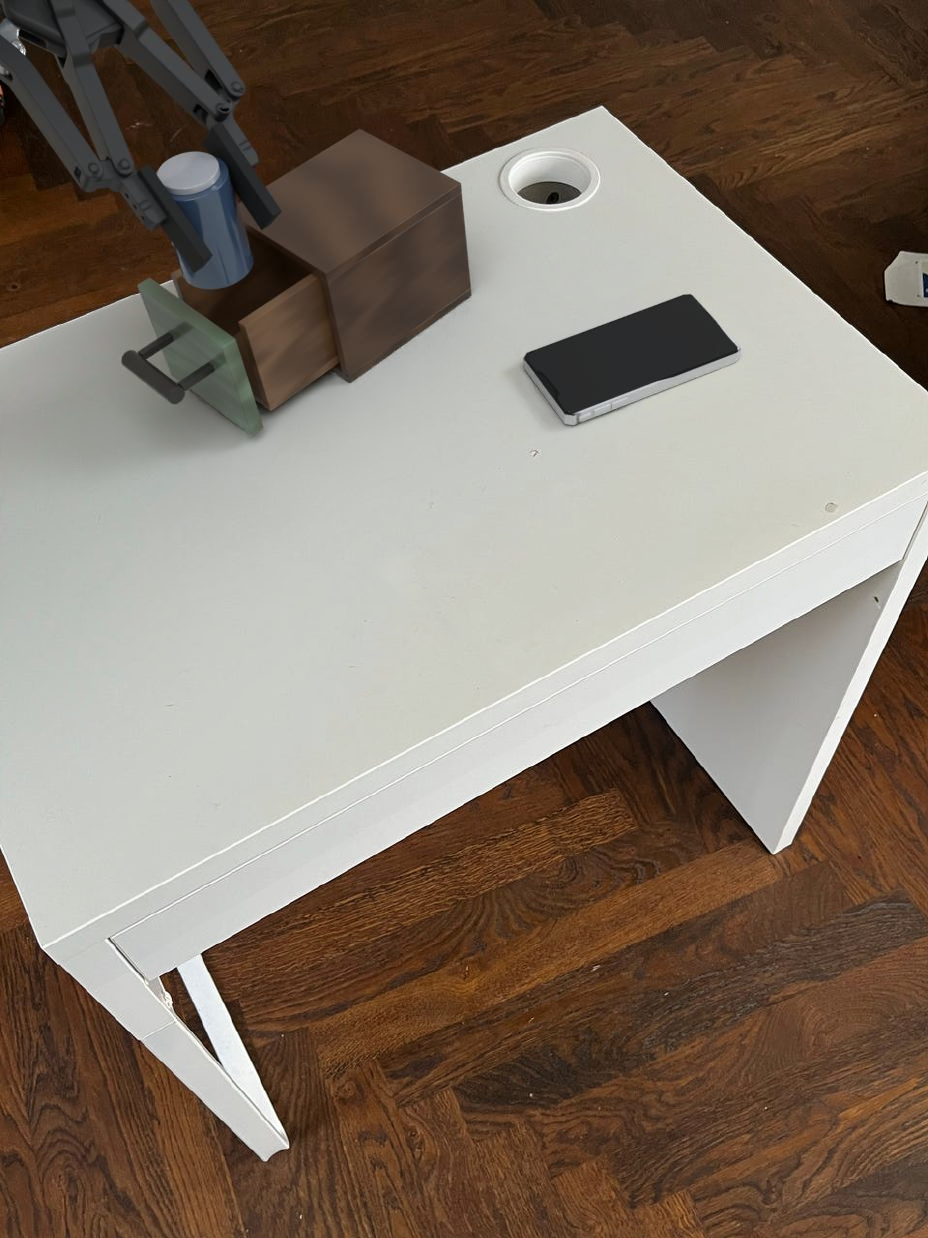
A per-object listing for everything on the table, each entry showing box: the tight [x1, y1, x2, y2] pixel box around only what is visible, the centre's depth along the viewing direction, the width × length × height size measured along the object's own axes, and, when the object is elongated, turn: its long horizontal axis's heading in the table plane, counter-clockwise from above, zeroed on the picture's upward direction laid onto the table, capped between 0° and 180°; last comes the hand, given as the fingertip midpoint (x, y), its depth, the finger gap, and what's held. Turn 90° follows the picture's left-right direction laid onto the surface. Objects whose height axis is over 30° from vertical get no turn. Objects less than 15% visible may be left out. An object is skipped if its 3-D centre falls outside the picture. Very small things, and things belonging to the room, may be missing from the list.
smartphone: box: [522, 293, 742, 426], centre depth 88 cm, size 8×1×15 cm
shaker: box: [155, 151, 253, 289], centre depth 77 cm, size 5×5×8 cm
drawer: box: [120, 230, 340, 437], centre depth 87 cm, size 17×10×9 cm, turn 135°
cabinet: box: [238, 128, 472, 384], centre depth 91 cm, size 14×12×11 cm
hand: (237, 241), depth 75 cm, fingers closed on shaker, 5 cm apart
